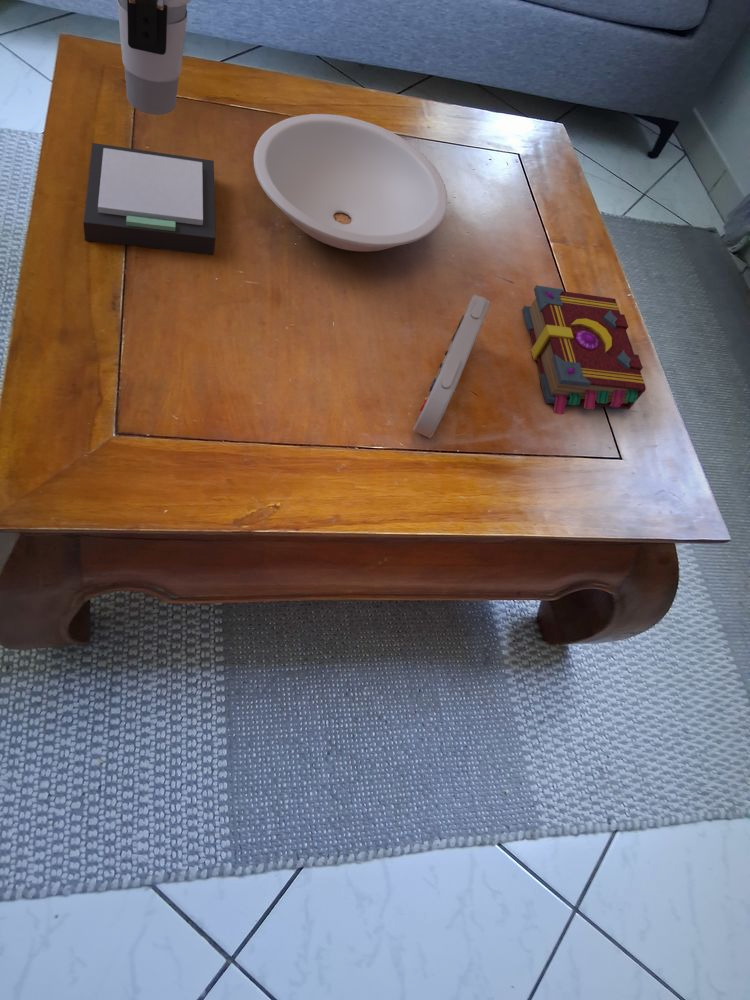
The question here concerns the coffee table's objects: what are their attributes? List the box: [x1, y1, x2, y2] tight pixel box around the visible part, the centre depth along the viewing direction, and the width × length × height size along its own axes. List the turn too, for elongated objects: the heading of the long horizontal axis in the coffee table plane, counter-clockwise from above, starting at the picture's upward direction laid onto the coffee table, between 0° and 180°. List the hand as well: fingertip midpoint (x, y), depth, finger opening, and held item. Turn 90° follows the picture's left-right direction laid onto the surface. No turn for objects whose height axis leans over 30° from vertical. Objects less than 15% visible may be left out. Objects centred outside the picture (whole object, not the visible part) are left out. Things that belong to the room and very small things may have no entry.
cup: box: [116, 0, 192, 116], centre depth 70 cm, size 7×7×12 cm
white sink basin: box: [252, 113, 448, 253], centre depth 95 cm, size 24×24×7 cm
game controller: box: [413, 294, 491, 439], centre depth 83 cm, size 20×2×8 cm, turn 160°
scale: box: [82, 142, 216, 256], centre depth 88 cm, size 14×14×3 cm
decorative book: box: [522, 285, 647, 415], centre depth 92 cm, size 11×16×5 cm
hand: (151, 25), depth 69 cm, fingers closed on cup, 7 cm apart
